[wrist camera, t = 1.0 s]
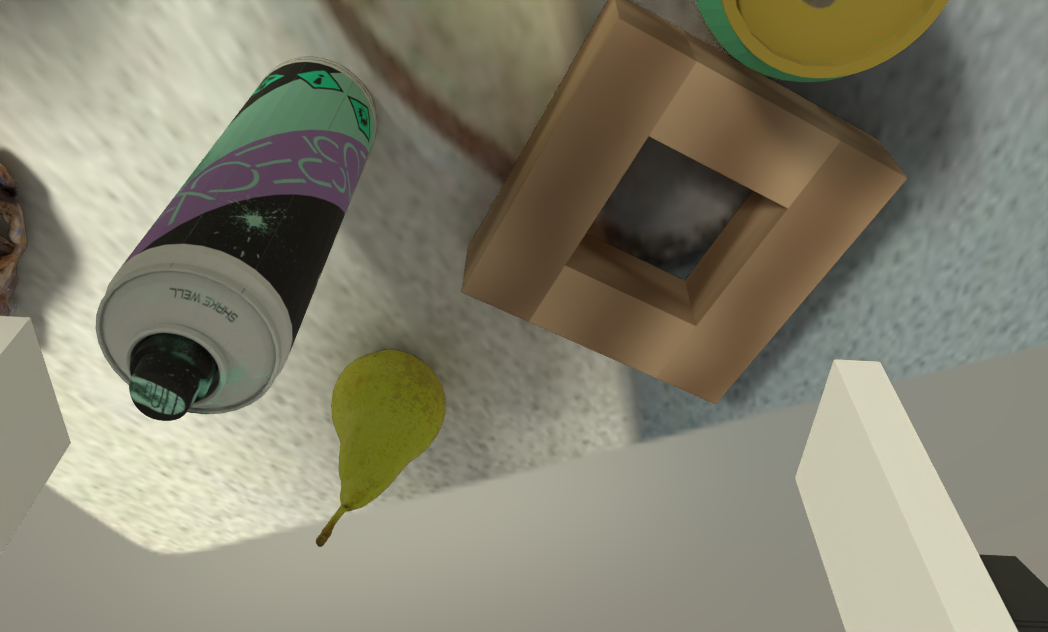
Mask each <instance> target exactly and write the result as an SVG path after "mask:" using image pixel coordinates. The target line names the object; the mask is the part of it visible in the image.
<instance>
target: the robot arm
mask: <svg viewBox="0 0 1048 632" xmlns="http://www.w3.org/2000/svg"><path fill="white" fill-rule="evenodd" d="M70 443H71V442H70V439H69V436H68V433H67V430H66V427H65V423H64V420H63V417H62V414H61V411H60V408H59V405H58V402H57V399H56V396H55V392H54V389H53V386H52V383H51V380H50V377H49V374H48V371H47V368H46V365H45V361H44V358H43V355H42V352H41V349H40V346H39V343H38V340H37V337H36V334H35V330H34V327H33V324H32V321H31V318H30V317H11V316H0V556H1V554H2V553H3V551H4V549H5V548H6V546H7V545H8V543H9V541H10V540H11V538H12V536H13V535H14V533H15V532H16V530H17V528H18V527H19V525H20V524H21V522H22V520H23V519H24V517H25V516H26V514H27V512H28V511H29V509H30V507H31V506H32V504H33V503H34V501H35V499H36V498H37V496H38V494H39V493H40V491H41V490H42V488H43V487H44V485H45V483H46V482H47V480H48V479H49V477H50V475H51V474H52V472H53V470H54V469H55V467H56V466H57V464H58V462H59V461H60V459H61V458H62V456H63V454H64V453H65V451H66V450H67V448H68V446H69V445H70ZM795 479H796V482H797V485H798V488H799V491H800V494H801V497H802V500H803V503H804V506H805V509H806V512H807V515H808V519H809V522H810V524H811V528H812V530H813V533H814V537H815V540H816V543H817V546H818V549H819V552H820V555H821V558H822V561H823V564H824V567H825V570H826V573H827V576H828V579H829V582H830V585H831V588H832V591H833V594H834V597H835V600H836V604H837V607H838V610H839V613H840V615H841V618H842V622H843V625H844V628H845V631H846V632H1048V588H1047V587H1046V586H1045V585H1044V584H1043V583H1042V582H1041V581H1040V580H1039V579H1038V578H1037V577H1036V576H1035V575H1034V574H1033V573H1032V572H1031V571H1030V570H1029V569H1028V568H1027V567H1026V566H1025V565H1024V564H1023V563H1022V562H1021V561H1020V560H1019V559H1018V558H1017V557H1015V556H997V555H979V554H978V553H977V550H976V549H975V547H974V544H973V543H972V541H971V539H970V537H969V535H968V533H967V531H966V529H965V527H964V525H963V523H962V521H961V519H960V517H959V516H958V513H957V511H956V510H955V507H954V505H953V504H952V502H951V500H950V498H949V496H948V494H947V492H946V490H945V488H944V486H943V484H942V482H941V480H940V478H939V476H938V474H937V472H936V470H935V468H934V467H933V465H932V463H931V461H930V459H929V457H928V455H927V453H926V451H925V449H924V447H923V445H922V443H921V441H920V439H919V437H918V435H917V434H916V431H915V429H914V427H913V426H912V424H911V422H910V420H909V418H908V416H907V414H906V412H905V410H904V408H903V406H902V404H901V402H900V400H899V398H898V396H897V394H896V392H895V391H894V388H893V387H892V385H891V383H890V381H889V379H888V377H887V375H886V373H885V371H884V369H883V367H882V365H881V363H880V362H871V361H852V360H834V361H833V364H832V367H831V370H830V373H829V377H828V380H827V383H826V386H825V389H824V392H823V395H822V398H821V401H820V404H819V407H818V411H817V414H816V416H815V419H814V423H813V426H812V429H811V432H810V435H809V438H808V441H807V444H806V447H805V451H804V453H803V456H802V459H801V463H800V465H799V468H798V471H797V475H796V478H795Z"/></svg>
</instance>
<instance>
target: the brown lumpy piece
mask: <svg viewBox="0 0 1048 632" xmlns="http://www.w3.org/2000/svg"><path fill="white" fill-rule="evenodd" d="M17 189H18V186H17V184H16V182H15V181H14V180H13V178H12V177H10V176H9V174H8V171H7V169H6V168H5V167H4V166H3V165H1V164H0V215H3V217H4V220H5V221H6V223H8V224H9V225H10V228H9V230H8V236H9V238H10V239H11V240H12V241H13V242H14V243H9V241H8V240H6V239H5V238H3V237H0V316H11V315H12V314H13V312H14V311H15V309H16V308H17V305H16V304H15V305H14V306H13V307H10V306H9V305H8V302H9V300H10V298H11V296H12V295H13V293H14V291H15V288H16V286H17V284H18V277H17V276H16V267H17V263H18V261H17V260H18V258H19V257H20V256H21V255H22V254H23V252H24V251H25V248H26V245H27V239H26V235H25V227H24V222H23V221H24V219H23V212H22V209H21V207H20V205H19V204H18V202H17V200H16V199H15V198H16V196H17V195H18V191H17Z"/></svg>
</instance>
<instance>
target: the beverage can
mask: <svg viewBox="0 0 1048 632" xmlns="http://www.w3.org/2000/svg"><path fill="white" fill-rule="evenodd" d="M948 1H949V0H695V2H696V4H697V6H698V8H699V10H700V12H701V14H702V16H703V18H704V20H705V22H706V24H707V26H708V28H709V29H710V31H711V32H712V34H713V35H714V36H715V38H716V39H717V41H718V42H719V43H720V44H721V45H722V46H723V47H724V48H725V49H726V50H727V51H728V52H729V53H730V54H731V56H733V57H734V58H735V59H737V60H738V61H740V62H741V63H743V64H744V65H745V66H747V67H749V68H751V69H753V70H755V71H757V72H759V73H761V74H763V75H766V76H770V77H773V78H777V79H781V80H786V81H795V82H822V81H828V80H833V79H838V78H843V77H846V76H849V75H852V74H855V73H858V72H861V71H864V70H867V69H870V68H872V67H874V66H877V65H879V64H881V63H883V62H885V61H887V60H889V59H890V58H892V57H893V56H895V55H896V54H898V53H899V52H901V51H902V50H904V49H905V48H907V47H908V46H909V45H910V44H911V43H913V42H914V41H915V40H916V39H917V38H918V37H919V36H921V35H922V34H923V33H924V32H925V30H926V29H927V28H928V27H929V26H930V25H931V24H932V23H933V22H934V20H935V19H936V18H937V17H938V15H939V14H940V12H941V11H942V10H943V8H944V7H945V5H946V4H947V2H948Z"/></svg>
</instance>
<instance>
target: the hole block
mask: <svg viewBox="0 0 1048 632" xmlns="http://www.w3.org/2000/svg"><path fill="white" fill-rule="evenodd" d="M648 136H649V137H651V138H653V139H655V140H657V141H659V142H661V143H663V144H665V145H667V146H669V147H671V148H672V149H674V150H676V151H678V152H680V153H682V154H684V155H686V156H688V157H690V158H692V159H694V160H696V161H697V162H699V163H701V164H703V165H705V166H707V167H709V168H711V169H713V170H715V171H717V172H719V173H721V174H722V175H724V176H726V177H728V178H730V179H732V180H734V181H736V182H738V183H740V184H742V185H744V186H746V187H747V188H749V189H751V190H752V192H751V193H750V194H749V196H748V197H747V198H746V200H745V201H744V202H743V204H742V205H741V206H740V208H739V209H738V210H737V212H736V213H735V214H734V216H733V217H732V218H731V220H730V221H729V223H728V224H727V225H726V227H725V228H724V229H723V231H722V232H721V233H720V235H719V236H718V237H717V239H716V240H715V241H714V243H713V244H712V245H711V247H710V248H709V249H708V251H707V252H706V253H705V255H704V256H703V257H702V259H701V260H700V261H699V263H698V264H697V265H696V267H695V268H694V269H693V271H692V272H691V274H690V275H689V276H688V278H687V279H686V280H685V281H684V280H682V279H680V278H678V277H676V276H674V275H672V274H670V273H668V272H665V271H663V270H661V269H659V268H657V267H655V266H653V265H651V264H649V263H647V262H645V261H643V260H640V259H638V258H636V257H634V256H632V255H630V254H628V253H626V252H624V251H622V250H620V249H617V248H615V247H613V246H611V245H609V244H607V243H605V242H603V241H601V240H599V239H597V238H594V237H592V236H590V235H588V234H586V232H587V231H588V229H589V228H590V226H591V225H592V223H593V222H594V220H595V219H596V217H597V215H598V214H599V212H600V211H601V209H602V208H603V206H604V205H605V203H606V202H607V200H608V198H609V197H610V195H611V194H612V192H613V191H614V189H615V188H616V186H617V184H618V183H619V181H620V180H621V178H622V177H623V175H624V174H625V172H626V171H627V169H628V167H629V166H630V164H631V163H632V161H633V160H634V158H635V157H636V155H637V153H638V152H639V150H640V149H641V147H642V146H643V144H644V143H645V141H646V140H647V138H648ZM906 179H907V176H906V175H905V174H904V173H903V171H902V170H901V169H900V167H899V166H898V165H897V163H896V162H895V161H894V160H893V158H892V157H891V156H890V154H889V153H888V152H887V150H886V149H885V148H884V147H883V145H882V144H881V143H880V141H879V140H878V139H876V138H874V137H873V136H871V135H869V134H867V133H866V132H864V131H862V130H860V129H858V128H857V127H855V126H853V125H851V124H849V123H848V122H846V121H844V120H842V119H841V118H839V117H837V116H835V115H833V114H832V113H830V112H828V111H826V110H825V109H823V108H821V107H819V106H817V105H816V104H814V103H812V102H810V101H808V100H807V99H805V98H803V97H801V96H800V95H798V94H796V93H794V92H792V91H791V90H789V89H787V88H785V87H784V86H782V85H780V84H778V83H776V82H775V81H773V80H771V79H769V78H767V77H766V76H764V75H762V74H760V73H759V72H757V71H755V70H753V69H751V68H749V67H747V66H745V65H744V64H743V63H741V62H739V61H737V60H735V59H734V58H732V57H730V56H728V55H726V54H725V53H723V52H721V51H719V50H718V49H716V48H714V47H712V46H710V45H709V44H707V43H705V42H703V41H702V40H700V39H698V38H696V37H694V36H693V35H691V34H689V33H687V32H686V31H684V30H682V29H680V28H678V27H677V26H675V25H673V24H671V23H669V22H668V21H666V20H664V19H662V18H661V17H659V16H657V15H655V14H653V13H652V12H650V11H648V10H646V9H645V8H643V7H641V6H639V5H637V4H636V3H634V2H632V1H630V0H607V2H606V4H605V6H604V7H603V9H602V11H601V13H600V15H599V16H598V18H597V20H596V22H595V23H594V25H593V27H592V29H591V31H590V32H589V34H588V36H587V38H586V39H585V41H584V43H583V45H582V46H581V48H580V50H579V52H578V54H577V55H576V57H575V59H574V61H573V62H572V64H571V66H570V68H569V70H568V71H567V73H566V75H565V77H564V78H563V80H562V82H561V84H560V85H559V87H558V89H557V91H556V93H555V94H554V96H553V98H552V100H551V101H550V103H549V105H548V107H547V109H546V110H545V112H544V114H543V116H542V117H541V119H540V121H539V123H538V124H537V126H536V128H535V130H534V132H533V133H532V135H531V137H530V139H529V140H528V142H527V144H526V146H525V148H524V149H523V151H522V153H521V155H520V156H519V158H518V160H517V162H516V163H515V165H514V167H513V169H512V171H511V172H510V174H509V176H508V178H507V179H506V181H505V183H504V185H503V187H502V188H501V190H500V192H499V194H498V195H497V197H496V199H495V201H494V203H493V204H492V206H491V208H490V210H489V211H488V213H487V215H486V217H485V218H484V220H483V222H482V224H481V226H480V227H479V229H478V231H477V233H476V234H475V236H474V238H473V240H472V242H471V243H470V245H469V247H468V250H467V257H466V263H465V270H464V277H463V284H462V291H461V292H462V293H465V294H467V295H469V296H471V297H474V298H476V299H478V300H480V301H483V302H485V303H487V304H490V305H492V306H494V307H496V308H499V309H501V310H503V311H505V312H508V313H510V314H512V315H514V316H517V317H519V318H521V319H523V320H526V321H528V322H530V323H532V324H535V325H537V326H539V327H542V328H544V329H546V330H548V331H551V332H553V333H555V334H557V335H560V336H562V337H564V338H566V339H569V340H571V341H573V342H575V343H578V344H580V345H582V346H585V347H587V348H589V349H591V350H594V351H596V352H598V353H600V354H603V355H605V356H607V357H609V358H612V359H614V360H616V361H618V362H621V363H623V364H625V365H627V366H630V367H632V368H634V369H637V370H639V371H641V372H643V373H646V374H648V375H650V376H652V377H655V378H657V379H659V380H661V381H664V382H666V383H668V384H670V385H673V386H675V387H677V388H679V389H682V390H684V391H686V392H689V393H691V394H693V395H695V396H698V397H700V398H702V399H704V400H707V401H709V402H711V403H713V404H716V403H717V402H718V401H719V400H720V398H721V397H722V396H723V395H724V394H725V393H726V391H727V390H728V389H729V388H730V387H731V386H732V384H733V383H734V382H735V381H736V380H737V378H738V377H739V376H740V375H741V374H742V373H743V371H744V370H745V369H746V368H747V367H748V366H749V364H750V363H751V362H752V361H753V360H754V358H755V357H756V356H757V355H758V354H759V353H760V351H761V350H762V349H763V348H764V347H765V345H766V344H767V343H768V342H769V341H770V340H771V338H772V337H773V336H774V335H775V334H776V333H777V331H778V330H779V329H780V328H781V327H782V325H783V324H784V323H785V322H786V321H787V320H788V318H789V317H790V316H791V315H792V314H793V313H794V311H795V310H796V309H797V308H798V307H799V305H800V304H801V303H802V302H803V301H804V300H805V298H806V297H807V296H808V295H809V294H810V292H811V291H812V290H813V289H814V288H815V287H816V285H817V284H818V283H819V282H820V281H821V280H822V278H823V277H824V276H825V275H826V274H827V272H828V271H829V270H830V269H831V268H832V267H833V265H834V264H835V263H836V262H837V261H838V260H839V258H840V257H841V256H842V255H843V254H844V252H845V251H846V250H847V249H848V248H849V247H850V245H851V244H852V243H853V242H854V241H855V240H856V238H857V237H858V236H859V235H860V234H861V232H862V231H863V230H864V229H865V228H866V227H867V225H868V224H869V223H870V222H871V221H872V219H873V218H874V217H875V216H876V215H877V214H878V212H879V211H880V210H881V209H882V208H883V207H884V205H885V204H886V203H887V202H888V201H889V199H890V198H891V197H892V196H893V195H894V194H895V192H896V191H897V190H898V189H899V188H900V187H901V185H902V184H903V183H904V182H905V181H906Z"/></svg>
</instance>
